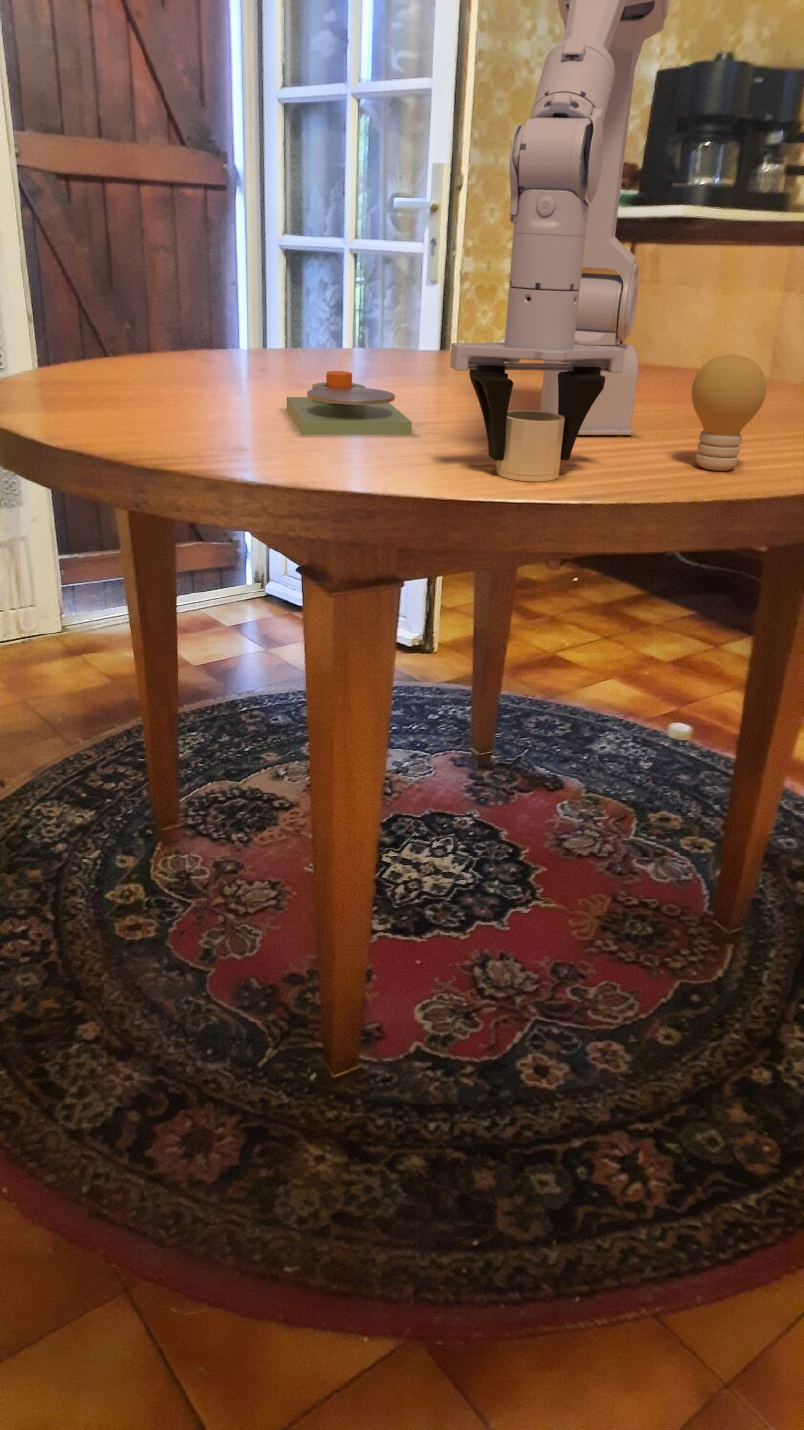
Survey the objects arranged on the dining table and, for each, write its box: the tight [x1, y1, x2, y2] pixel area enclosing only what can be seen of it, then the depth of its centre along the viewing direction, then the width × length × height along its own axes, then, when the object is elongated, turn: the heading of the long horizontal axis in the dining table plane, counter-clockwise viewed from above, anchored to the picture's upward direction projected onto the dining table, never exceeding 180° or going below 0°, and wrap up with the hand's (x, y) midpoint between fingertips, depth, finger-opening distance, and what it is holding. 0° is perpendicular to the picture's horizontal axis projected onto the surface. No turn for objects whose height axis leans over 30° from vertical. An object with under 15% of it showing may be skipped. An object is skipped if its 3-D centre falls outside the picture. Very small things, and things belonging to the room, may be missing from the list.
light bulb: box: [691, 354, 767, 472], centre depth 92 cm, size 6×6×10 cm
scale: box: [286, 381, 413, 436], centre depth 108 cm, size 15×11×3 cm
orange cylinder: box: [325, 370, 353, 387], centre depth 111 cm, size 3×3×2 cm
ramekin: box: [496, 409, 565, 483], centre depth 88 cm, size 5×5×5 cm
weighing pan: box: [306, 387, 396, 405], centre depth 104 cm, size 9×9×1 cm
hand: (528, 458), depth 88 cm, fingers closed on ramekin, 5 cm apart
